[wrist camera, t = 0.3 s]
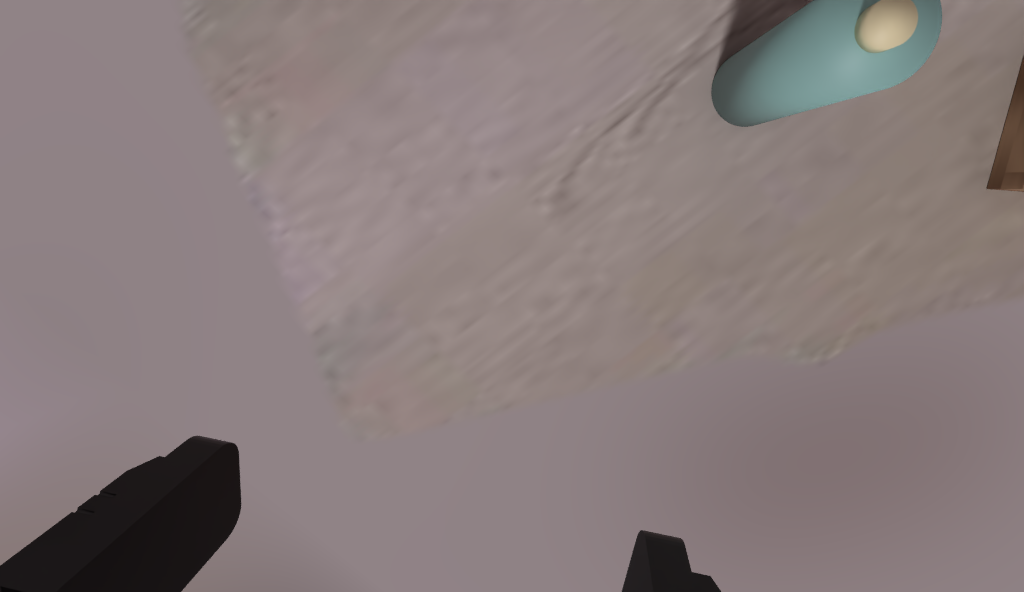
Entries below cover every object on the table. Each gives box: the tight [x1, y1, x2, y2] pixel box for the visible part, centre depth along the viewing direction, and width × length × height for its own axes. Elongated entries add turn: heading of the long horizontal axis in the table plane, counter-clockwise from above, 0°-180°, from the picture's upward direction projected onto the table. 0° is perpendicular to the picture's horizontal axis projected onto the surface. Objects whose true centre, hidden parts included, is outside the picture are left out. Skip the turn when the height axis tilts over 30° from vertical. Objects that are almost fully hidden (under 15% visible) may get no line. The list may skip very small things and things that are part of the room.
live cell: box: [712, 0, 942, 127], centre depth 26 cm, size 5×5×14 cm
